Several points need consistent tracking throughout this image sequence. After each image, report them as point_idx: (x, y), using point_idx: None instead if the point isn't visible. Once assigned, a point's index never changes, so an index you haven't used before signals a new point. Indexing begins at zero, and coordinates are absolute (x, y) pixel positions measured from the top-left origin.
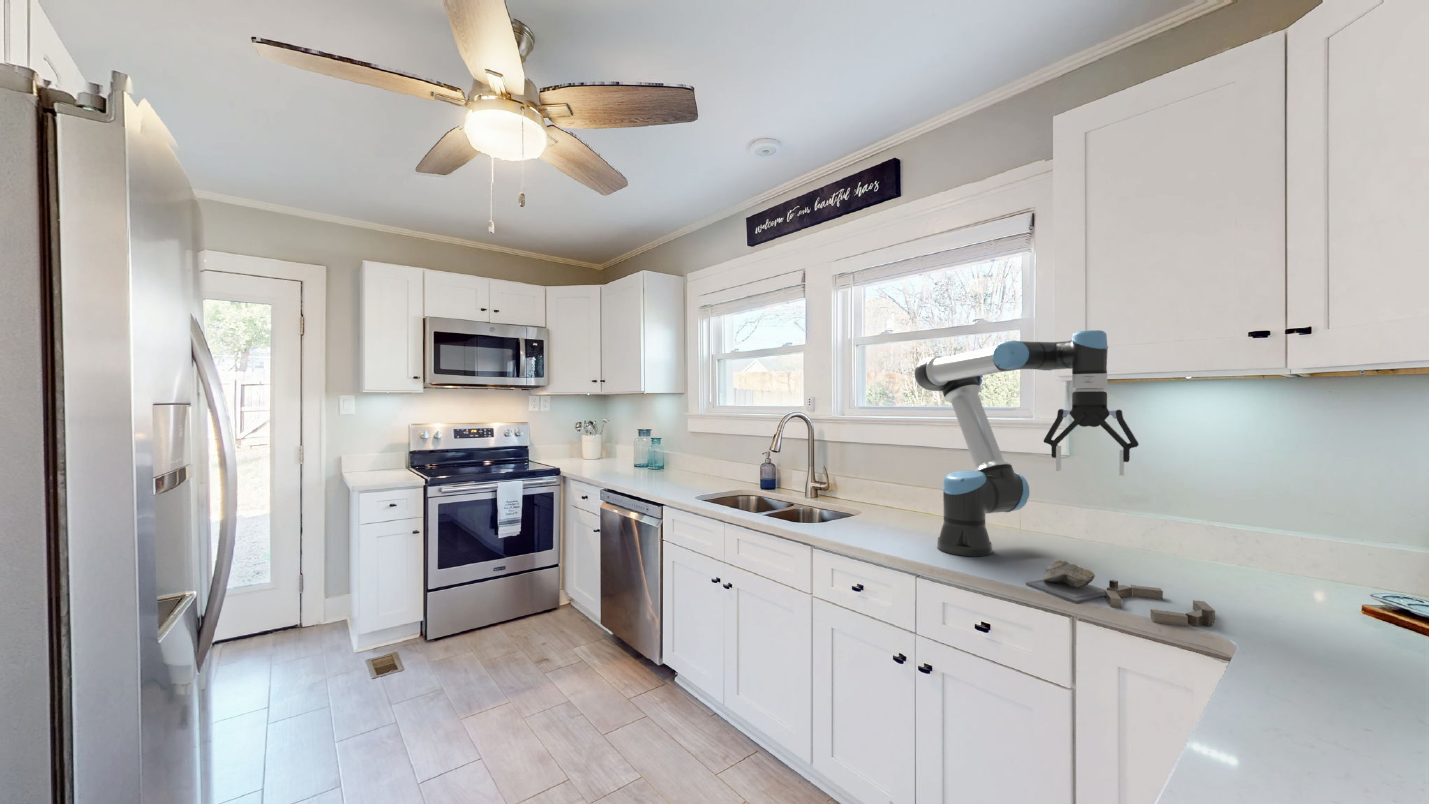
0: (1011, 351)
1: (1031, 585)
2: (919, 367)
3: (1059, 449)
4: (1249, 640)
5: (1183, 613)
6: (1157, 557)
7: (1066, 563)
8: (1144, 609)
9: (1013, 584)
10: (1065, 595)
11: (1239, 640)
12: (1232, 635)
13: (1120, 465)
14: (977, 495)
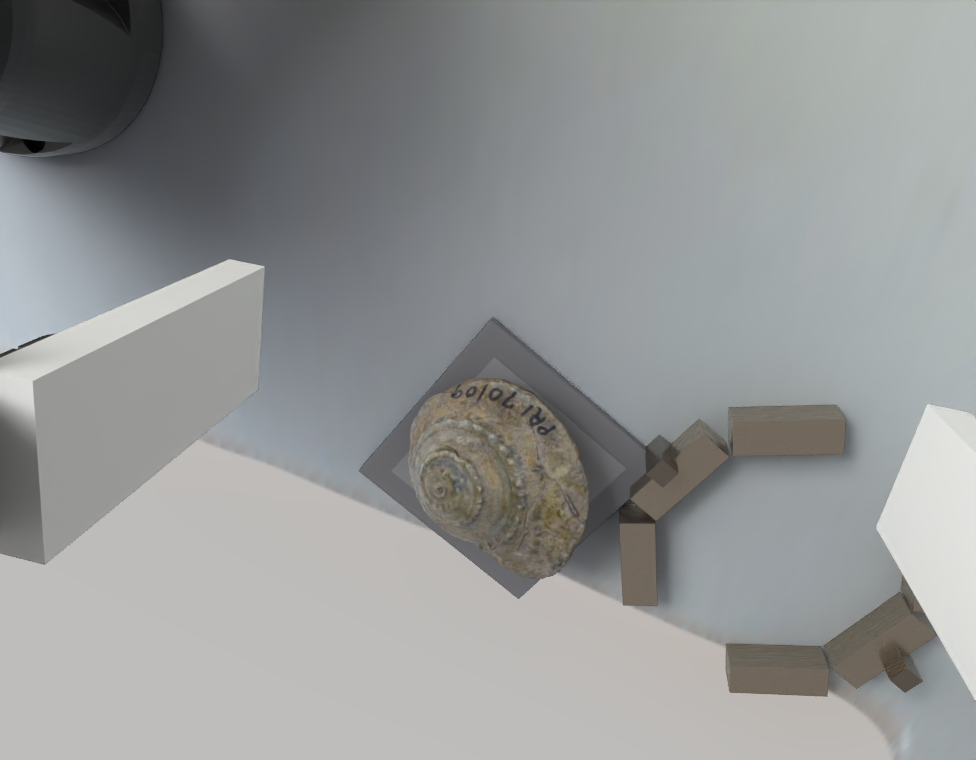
0: None
1: (380, 486)
2: None
3: (83, 528)
4: (963, 716)
5: (825, 671)
6: None
7: (479, 514)
8: (730, 567)
9: (323, 477)
10: (489, 561)
11: (931, 724)
12: (930, 695)
13: (934, 608)
14: None
